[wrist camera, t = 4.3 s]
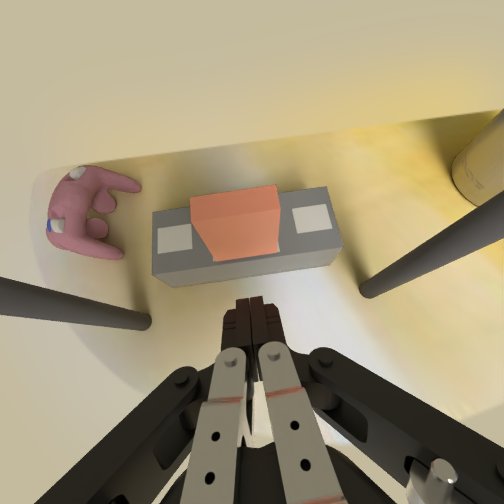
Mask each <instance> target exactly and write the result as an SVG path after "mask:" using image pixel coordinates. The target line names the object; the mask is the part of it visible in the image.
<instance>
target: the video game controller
mask: <svg viewBox="0 0 504 504" xmlns="http://www.w3.org/2000/svg"><path fill="white" fill-rule="evenodd" d="M107 190H119V191H124V192H131V193H136V192H140V191H141V186H140V184H139V183H138V182H136V181H135V180H133V179H131V178H130V177H127V176H124V175H121V174H118V173H115V172H112V171H109V170H107V169H104V168H100V167H97V166H91V165H84V166H79V167H77V168H75V169H73V170H72V171H71V172H70V173H68V174H67V175H66V176H65V177H64V178H63V179H62V180H61V181H60V182H59V184H58V185H57V187H56V188H55V190H54V192H53V194H52V197H51V200H50V203H49V208H48V221H47V229H46V235H47V238H48V240H49V241H50V242H51V244H53V245H54V246H56V247H57V248H60V249H63V250H70V251H72V252H75V253H78V254H82V255H86V256H91V257H95V258H101V259H111V260H117V259H121V258H122V257H123V255H124V253H123V252H122V251H121V250H120V249H118V248H116V247H114V246H112V245H109V244H106V243H103V242H100V241H97V239H101V238H104V237H105V236H106V235H107V234H108V226H107V224H106V222H105V221H104V220H102V219H99V218H90V219H87V215H88V212H89V208H90V206H91V207H92V209H93V210H95V211H96V212H97V213H100V214H107V213H110V212H112V211H114V209H115V207H116V203H115V200H114V199H113V197H112V196H111V195H110V194H109V193H108V191H107ZM86 219H87V220H86Z"/></svg>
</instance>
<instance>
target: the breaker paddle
mask: <svg viewBox="0 0 504 504" xmlns="http://www.w3.org/2000/svg"><path fill="white" fill-rule="evenodd" d="M190 211H191V223H192V224H193V226H194V227H195V229H196V231H197V232H198V234H199V235H200V237H201V238H202V240H203V242H204V243H205V245H206V246H207V248H208V250H209V251H210V253H211V254H212V256H213V257H214V259H215V261H216V262H217V261H224V260H231V259H238V258H245V257H252V256H258V255H265V254H272V253H277V246H278V235H279V223H280V211H281V208H280V203H279V198H278V192H277V187H276V185H270V186H263V187H256V188H250V189H243V190H236V191H230V192H223V193H216V194H209V195H203V196H196V197H190Z"/></svg>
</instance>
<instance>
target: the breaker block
mask: <svg viewBox="0 0 504 504" xmlns="http://www.w3.org/2000/svg"><path fill="white" fill-rule="evenodd" d="M278 198H279V203H280V208H281V211H280V223H279V235H278V246H277V253H272V254H265V255H258V256H252V257H245V258H238V259H231V260H224V261H217V262H216V261H215V259H214V257H213V256H212V254H211V253H210V251H209V250H208V248H207V246H206V245H205V243H204V242H203V240H202V238H201V237H200V235H199V234H198V232H197V231H196V229H195V227H194V226H193V224H192V223H191V211H190V207H184V208H177V209H170V210H163V211H157V212H153V225H152V275H153V276H154V277H156V278H158V279H159V280H161V281H163V282H164V283H166V284H168V285H169V286H171V287H173V288H176V287H183V286H190V285H197V284H204V283H211V282H218V281H225V280H231V279H238V278H245V277H252V276H259V275H266V274H273V273H280V272H287V271H294V270H301V269H308V268H315V267H322V266H329V265H330V264H331V263H332V262H333V260H334V259H335V258H336V256H337V255H338V254H339V252H340V251H341V250H342V249H343V243H342V240H341V236H340V233H339V229H338V226H337V222H336V219H335V215H334V211H333V208H332V204H331V201H330V197H329V194H328V190H327V187H326V186H325V187H318V188H311V189H305V190H298V191H291V192H284V193H278Z"/></svg>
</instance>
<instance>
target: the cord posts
mask: <svg viewBox="0 0 504 504" xmlns="http://www.w3.org/2000/svg"><path fill="white" fill-rule="evenodd" d="M503 238H504V190H503V191H502V192H500V193H499V194H497V195H496V196H494V197H493V198H491V199H489V200H488V201H486V202H485V203H483V204H482V205H480V206H479V207H477V208H476V209H474V210H473V211H471V212H470V213H468V214H467V215H465V216H464V217H462V218H461V219H459V220H458V221H456V222H455V223H453V224H452V225H450V226H449V227H447V228H446V229H444V230H443V231H441V232H440V233H438V234H437V235H435V236H434V237H432V238H431V239H429V240H427V241H426V242H424V243H423V244H421V245H420V246H418V247H417V248H415V249H414V250H412V251H411V252H409V253H408V254H406V255H405V256H403V257H402V258H400V259H399V260H397V261H396V262H394V263H393V264H391V265H390V266H388V267H387V268H385V269H384V270H382V271H381V272H379V273H378V274H376V275H375V276H373V277H372V278H370V279H369V280H367V281H365V282H364V283H362V284H361V286H360V293H361V295H362V296H363V297H365V298H368V299H371V298H374V297H376V296H378V295H380V294H382V293H385V292H387V291H389V290H391V289H393V288H396V287H398V286H400V285H402V284H404V283H406V282H409V281H411V280H413V279H415V278H417V277H420V276H422V275H424V274H426V273H428V272H431V271H433V270H435V269H437V268H439V267H441V266H444V265H446V264H448V263H450V262H452V261H455V260H457V259H459V258H461V257H463V256H466V255H468V254H470V253H472V252H474V251H476V250H479V249H481V248H483V247H485V246H487V245H490V244H492V243H494V242H496V241H498V240H501V239H503ZM0 315H7V316H16V317H25V318H34V319H42V320H51V321H60V322H69V323H77V324H86V325H95V326H104V327H113V328H122V329H130V330H139V331H145V330H147V329H148V328H149V327H150V326H151V323H152V319H151V317H150V316H149V315H148V314H144V313H141V312H137V311H133V310H129V309H125V308H121V307H117V306H113V305H109V304H105V303H101V302H97V301H93V300H90V299H86V298H82V297H78V296H74V295H70V294H66V293H62V292H58V291H54V290H50V289H46V288H42V287H38V286H35V285H30V284H27V283H23V282H19V281H15V280H11V279H7V278H3V277H0Z"/></svg>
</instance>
